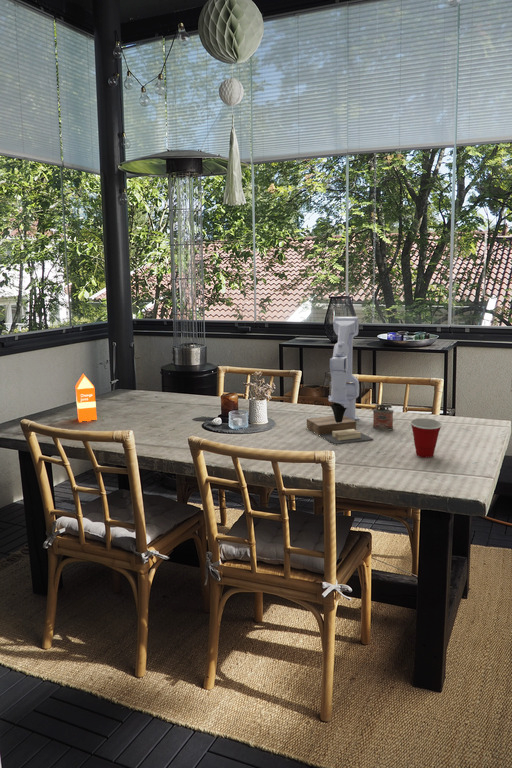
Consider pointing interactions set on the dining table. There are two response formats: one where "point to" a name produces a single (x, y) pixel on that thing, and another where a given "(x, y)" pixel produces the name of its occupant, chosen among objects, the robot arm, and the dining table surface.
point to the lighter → (383, 417)
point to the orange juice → (85, 400)
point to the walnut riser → (329, 424)
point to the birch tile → (346, 434)
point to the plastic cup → (425, 435)
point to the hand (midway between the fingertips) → (338, 422)
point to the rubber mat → (336, 441)
